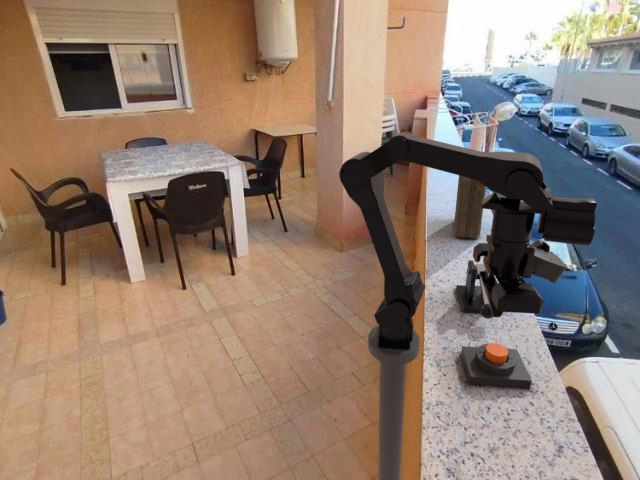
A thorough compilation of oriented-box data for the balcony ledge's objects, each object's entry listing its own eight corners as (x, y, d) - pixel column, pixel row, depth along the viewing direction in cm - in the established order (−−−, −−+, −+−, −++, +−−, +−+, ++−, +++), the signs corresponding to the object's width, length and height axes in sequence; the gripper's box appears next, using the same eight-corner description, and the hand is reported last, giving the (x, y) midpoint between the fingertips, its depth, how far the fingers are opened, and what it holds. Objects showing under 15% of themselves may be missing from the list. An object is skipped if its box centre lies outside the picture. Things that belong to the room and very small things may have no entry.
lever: (495, 321, 80) (498, 315, 78) (479, 320, 81) (482, 314, 78) (485, 270, 88) (488, 263, 85) (471, 270, 88) (474, 262, 86)
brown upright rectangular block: (454, 218, 137) (460, 150, 127) (478, 220, 134) (487, 150, 124) (453, 239, 121) (460, 163, 111) (481, 241, 118) (491, 163, 108)
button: (487, 363, 66) (488, 355, 66) (482, 349, 70) (483, 342, 69) (509, 364, 66) (510, 357, 65) (503, 350, 69) (504, 343, 68)
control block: (469, 384, 66) (471, 369, 65) (461, 353, 73) (462, 339, 72) (529, 389, 65) (533, 373, 63) (515, 356, 72) (518, 342, 70)
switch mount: (500, 313, 84) (507, 276, 80) (463, 312, 85) (467, 275, 81) (489, 290, 93) (494, 255, 89) (455, 289, 94) (459, 254, 90)
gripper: (595, 264, 50) (569, 355, 56) (543, 214, 66) (527, 289, 73) (506, 262, 52) (490, 350, 58) (477, 214, 68) (467, 287, 75)
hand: (496, 315), depth 66 cm, fingers closed
